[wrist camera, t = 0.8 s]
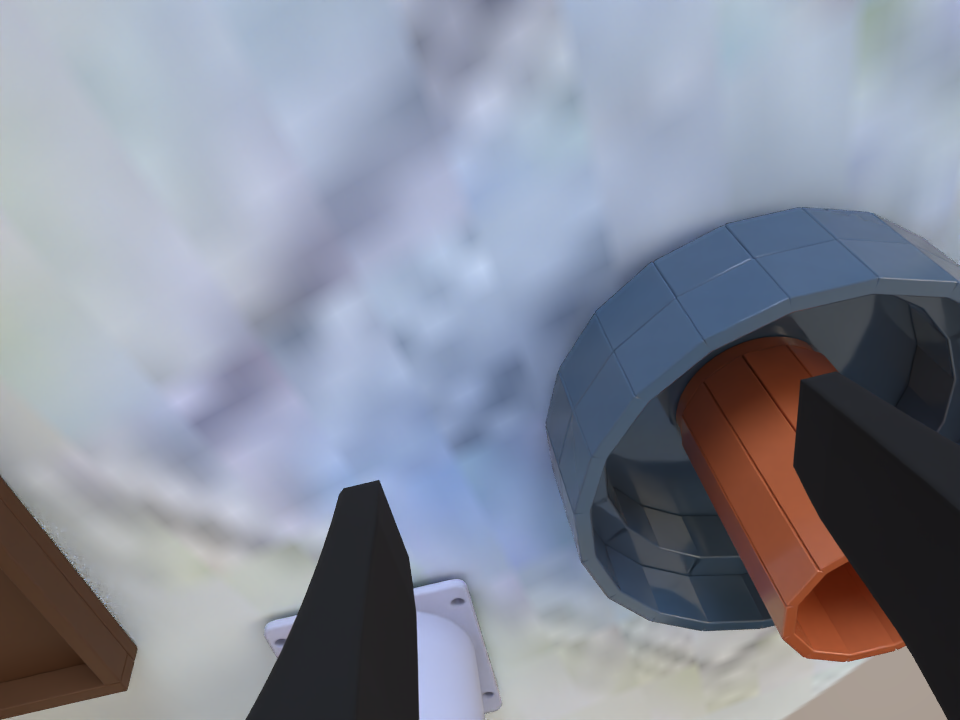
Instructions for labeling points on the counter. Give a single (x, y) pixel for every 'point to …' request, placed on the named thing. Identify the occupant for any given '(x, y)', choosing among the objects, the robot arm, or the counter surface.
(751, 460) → the cup
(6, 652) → the tray
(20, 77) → the counter surface
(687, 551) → the bowl
